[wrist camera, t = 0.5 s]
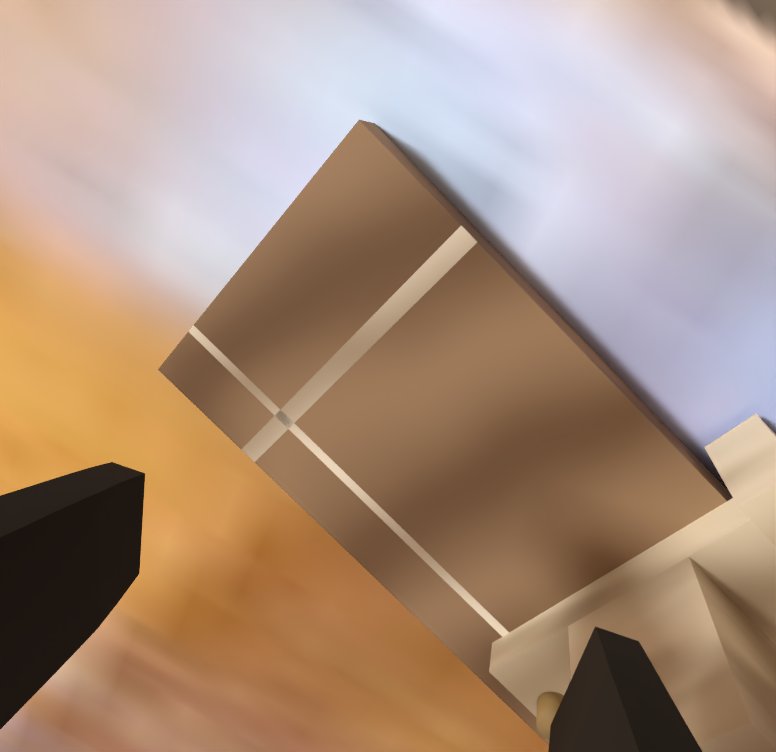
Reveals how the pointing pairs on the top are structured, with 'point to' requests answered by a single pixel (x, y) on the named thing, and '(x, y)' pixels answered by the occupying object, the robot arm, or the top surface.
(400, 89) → the top surface
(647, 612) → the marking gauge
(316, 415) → the walnut board
